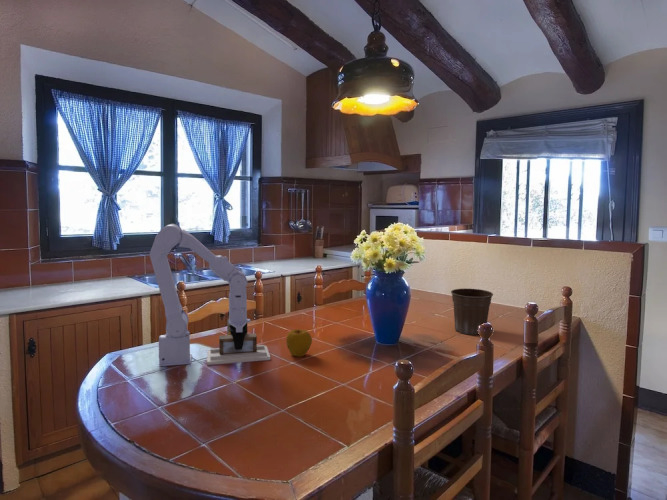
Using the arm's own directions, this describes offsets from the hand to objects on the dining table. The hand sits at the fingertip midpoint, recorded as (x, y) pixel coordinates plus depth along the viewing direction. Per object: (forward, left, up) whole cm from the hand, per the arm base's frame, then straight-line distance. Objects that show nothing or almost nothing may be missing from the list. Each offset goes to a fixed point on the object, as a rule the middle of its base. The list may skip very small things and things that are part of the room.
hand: (238, 347), depth 149 cm
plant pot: (+93, +9, -3) cm, 94 cm away
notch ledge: (0, 0, -3) cm, 3 cm away
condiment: (0, +16, +1) cm, 16 cm away
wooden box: (0, 0, -2) cm, 2 cm away
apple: (+20, -3, -3) cm, 21 cm away
